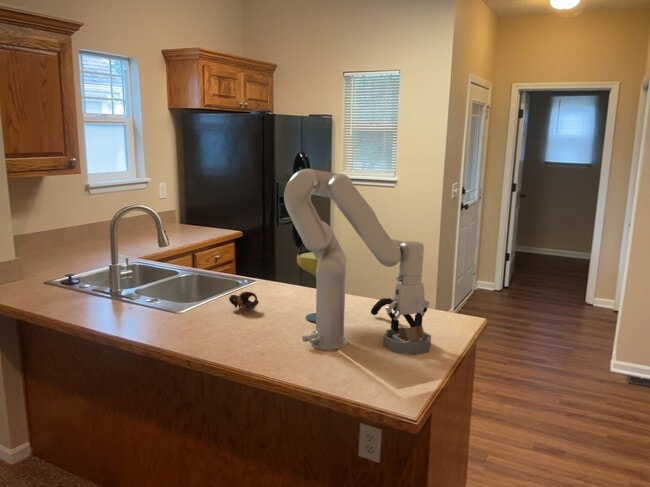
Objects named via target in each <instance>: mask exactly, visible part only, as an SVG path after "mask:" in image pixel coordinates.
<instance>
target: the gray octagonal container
mask: <svg viewBox="0 0 650 487" xmlns="http://www.w3.org/2000/svg"><path fill="white" fill-rule="evenodd" d="M407 328H408V327H402V326H401V327H399V328H398V332H395V331H394V330H392V329H391V328H389V329H386V330H385V332H384V335H382V336H383V337H382V338H383V340H382V341H383V342H382V346H383V347H384V348H386V349H387V350H390V351H391V352H393V353H397V354H403V355H404V354H405V355H412V356H414V355H420V354H423V353H428V352H430V347H431V345H432V344H431V342H432V334H429V333H428V332H425V331H424V336H425V338H420V339H415V340H410V341H404V340H402V339H400V334H399V330H403V329H407Z"/></svg>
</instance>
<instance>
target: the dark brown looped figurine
mask: <svg viewBox="0 0 650 487" xmlns="http://www.w3.org/2000/svg"><path fill="white" fill-rule="evenodd" d="M251 297H253V298H254V301H252V300H249V299H250V298H251ZM228 300H229V302H230V304H231V305H233V306H234V307H235V308H239V309H240V308H241V309H240V312H241V313H242V314H245V313H246V312H248V311H250V310H253V309H255V308H256V307H257V305H258V304H259V303H260V302H259V300H258V296H257V295H256V293H254V292H253V291H242V292H241V293H239V295H238V294H237V295H236V294H231V295H230V296H229V298H228ZM235 308H234V309H235Z"/></svg>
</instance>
